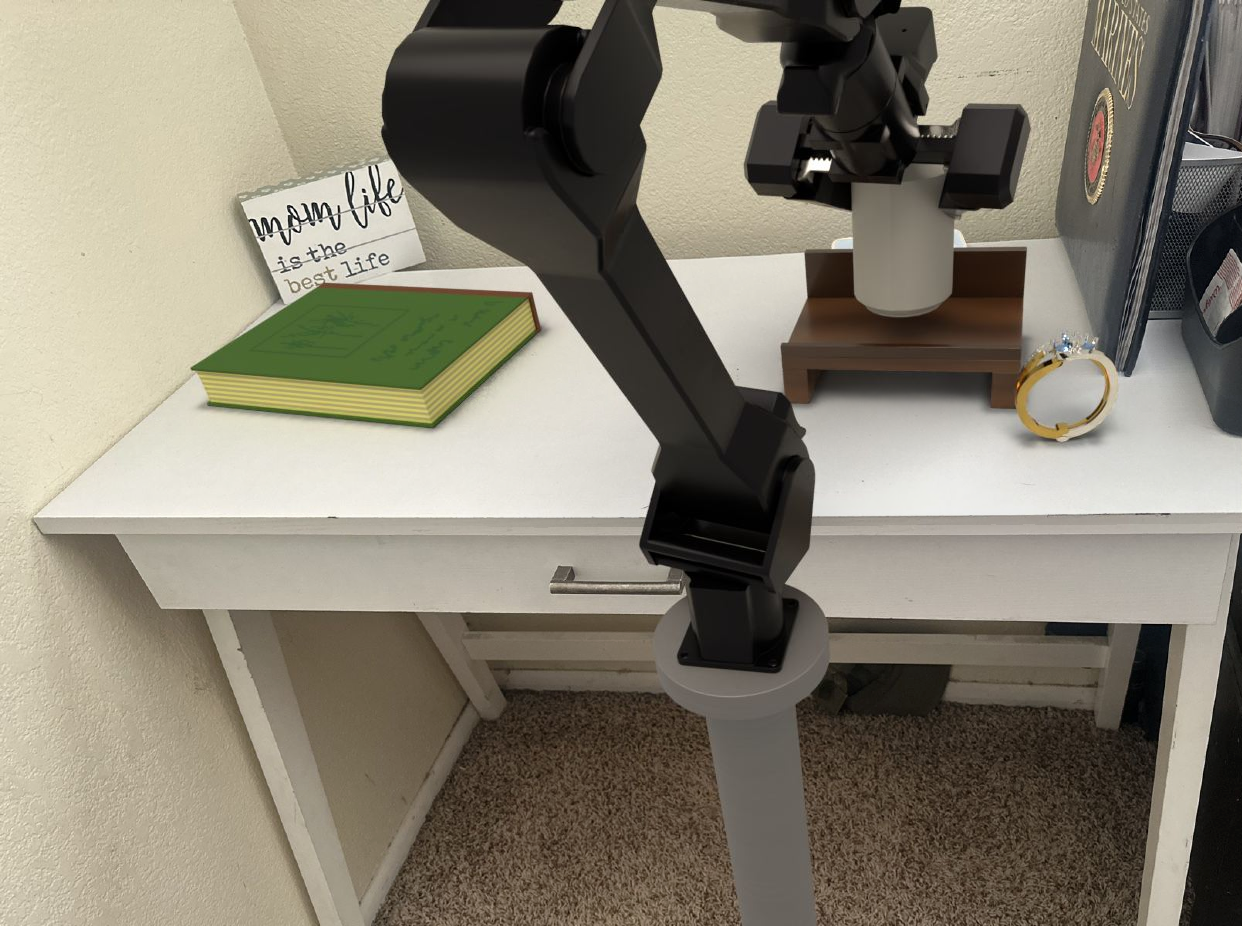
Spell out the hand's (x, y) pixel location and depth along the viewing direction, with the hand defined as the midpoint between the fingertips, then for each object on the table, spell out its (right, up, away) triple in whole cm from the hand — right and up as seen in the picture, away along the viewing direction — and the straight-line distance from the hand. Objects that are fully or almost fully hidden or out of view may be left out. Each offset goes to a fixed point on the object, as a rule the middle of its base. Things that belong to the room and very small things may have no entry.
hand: (909, 210), depth 76 cm
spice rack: (+1, -10, +8) cm, 13 cm away
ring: (+10, -18, -3) cm, 21 cm away
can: (0, -6, +3) cm, 7 cm away
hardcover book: (-47, -8, +19) cm, 51 cm away
